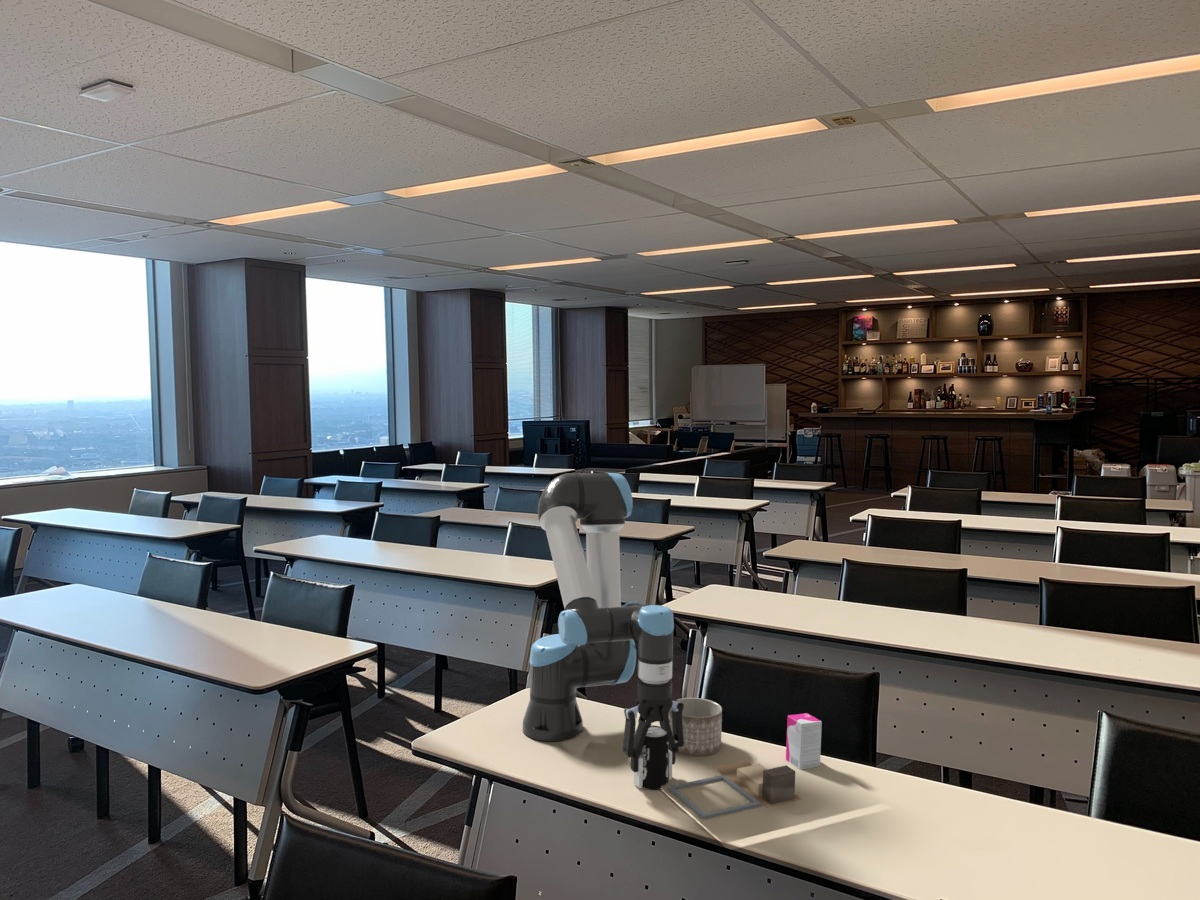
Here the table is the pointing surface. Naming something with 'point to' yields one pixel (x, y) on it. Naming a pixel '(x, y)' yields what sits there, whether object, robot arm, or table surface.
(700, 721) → the planter
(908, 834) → the table surface
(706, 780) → the picture frame
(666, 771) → the beverage can
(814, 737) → the supplement box
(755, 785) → the beige wooden block
